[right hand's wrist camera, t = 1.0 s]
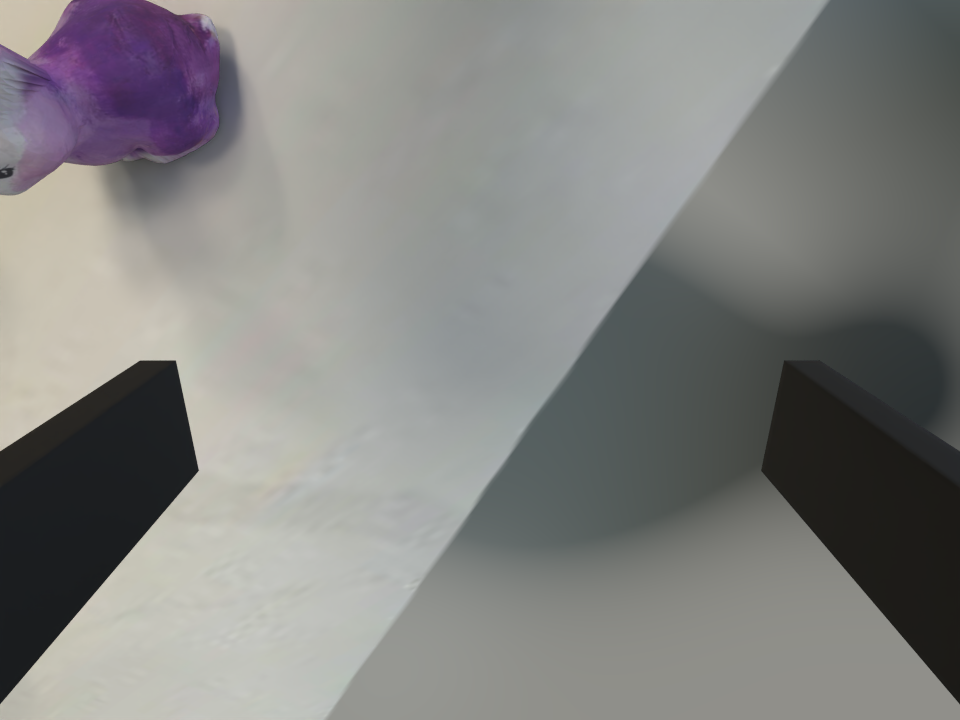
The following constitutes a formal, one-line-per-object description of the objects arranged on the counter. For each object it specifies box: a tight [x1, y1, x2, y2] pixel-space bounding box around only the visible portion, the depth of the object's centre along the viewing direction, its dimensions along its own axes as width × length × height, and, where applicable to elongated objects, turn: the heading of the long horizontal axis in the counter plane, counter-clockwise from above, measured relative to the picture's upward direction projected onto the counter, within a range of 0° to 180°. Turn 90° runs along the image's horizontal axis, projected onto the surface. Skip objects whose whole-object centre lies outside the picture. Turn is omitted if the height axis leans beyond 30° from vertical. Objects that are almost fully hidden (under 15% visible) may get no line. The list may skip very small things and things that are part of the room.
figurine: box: [0, 0, 220, 195], centre depth 28 cm, size 9×10×15 cm
